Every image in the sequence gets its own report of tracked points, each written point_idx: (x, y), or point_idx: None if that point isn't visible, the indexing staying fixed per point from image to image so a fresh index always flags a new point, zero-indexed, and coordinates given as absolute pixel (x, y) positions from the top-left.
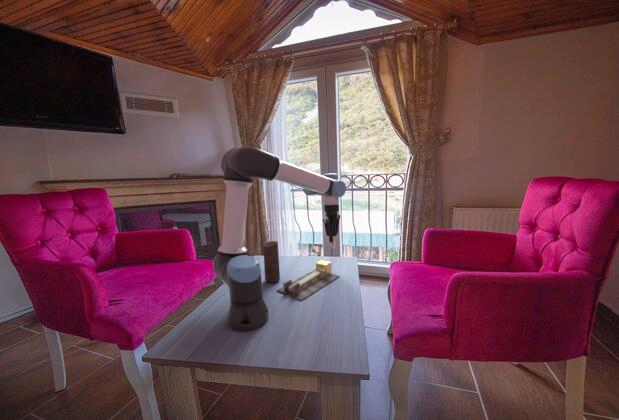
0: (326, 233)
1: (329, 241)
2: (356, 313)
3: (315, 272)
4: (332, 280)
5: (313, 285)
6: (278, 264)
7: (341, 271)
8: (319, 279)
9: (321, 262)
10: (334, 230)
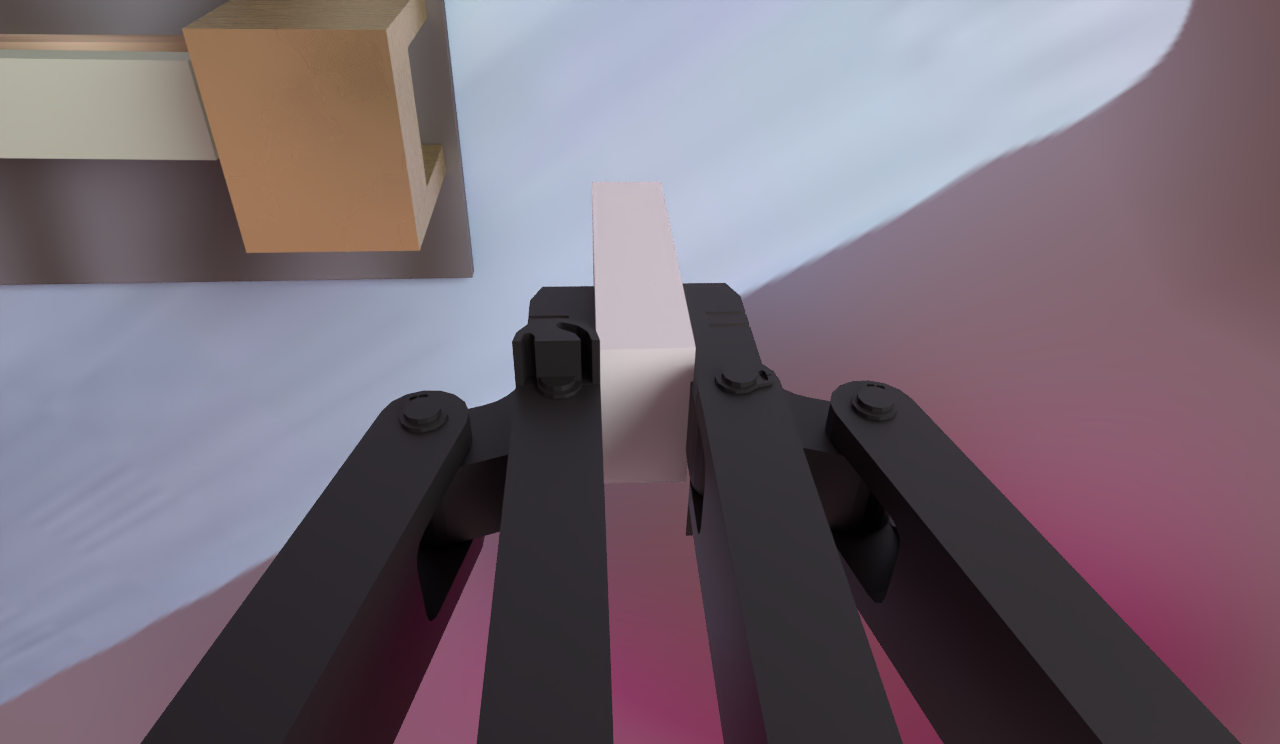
0: (350, 473)
1: (533, 299)
2: (78, 653)
3: (124, 93)
4: (314, 277)
5: (2, 183)
6: None
7: None
8: None
9: (282, 115)
10: (708, 602)
